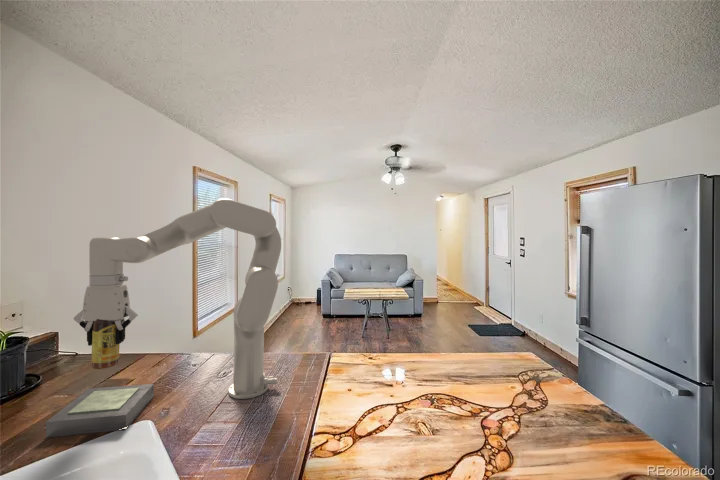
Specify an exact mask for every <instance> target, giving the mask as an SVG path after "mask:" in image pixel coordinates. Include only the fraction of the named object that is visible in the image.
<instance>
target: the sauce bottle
mask: <svg viewBox="0 0 720 480" xmlns="http://www.w3.org/2000/svg"><path fill="white" fill-rule="evenodd" d="M117 330H118V328H117V326H116V324H115V322H114V321H108V320H101V319H97V320H96V321H95V322H93V330H92V345H91V368H92V369H95V370H100V369H101V370H102V369H108V368H112V367H114V366H116V365H117V364H118V363H119V359H120V344H116V331H117Z"/></svg>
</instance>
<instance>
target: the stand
mask: <svg viewBox="0 0 720 480" xmlns="http://www.w3.org/2000/svg"><path fill="white" fill-rule="evenodd" d="M154 391H155V384H154V383H148V384H133V385H121V386H107V387H93V388H88V389H87V390H85V391H84V392H83V393H81V394H79V396H77V397H76V398H75V399H74V400H72V401H71V402H70V403H68V404H67V405H66V406H64V407H63V408H62V409H61V410H59V411H58V412H57V413H56V414H55V415H53V416H51V418H49V419H47V420H46V421H45V438H55V437H66V436H74V435H76V436H77V435H86V434H87V435H88V434H97V433H105V432H106V433H108V432H117V431H116V430H118V431H120V430H119V429H122V428H124V427H127V426H129V425H130V426H131V425H132V423H133V422H134V421H135V420H136V418H138V416H139V415H140V413H142V411H143V410H144V409H145V407H146V406H147V405H148V404H149V403H150V401H151V400H152V399H153V398H154V397H155V392H154ZM134 419H135V420H134ZM130 426H129V427H130Z"/></svg>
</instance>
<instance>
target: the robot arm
mask: <svg viewBox="0 0 720 480" xmlns="http://www.w3.org/2000/svg"><path fill="white" fill-rule="evenodd" d="M226 228H228V229H231V230H233V231H237V232H241V233H244V234H248V235H251V236H253V237H254V240H255V248H254V251H253V254H252V258H251V261H250V262H249V263H250V264H249V268H248V270H247V272H246V274H245V277H244V278H245V279H244V282H245V288H244V290H243V294H242V297H240V298H239V299H238V300H237V302H236V303H235V304H234V308H233V380H232V381H233V382H232V384H231V385H230V386H229V387H228V390H227V392H228V395H229V396H230V397H231V398H234V399H238V400H239V399H241V400H247V399H253V398H256V397H259V396H261V395H263V394H264V393H266V392H267V390H268V389H269V385H278V378H277V377H275V378H274V376H275V375H269V376H268V375H266V373H265V371H264V362H265V361H264V359H265V358H264V353H265V352H264V351H265V348H264V347H265V345H264V344H265V325H266V324H267V322H268V319H269V317H270V315H271V311H272V307H273V305H274V303H275V300H276V299H275V298H276V295H277V291H278V287H279V279H278V276H277V274H276V271H277V267H278V263H279V259H280V256H281V251H282V238H281V234H280V232H279V228H277V221H276V218H275V216H274V215H273V214H272V213H271V212H269V211H267V210H264V209H261V208H257V207H254V206H252V205H249V204H245V203H242V202H240V201H239V202H238V201H236V200H233V199H230V198H218V199H217V200H215V201H214V202H213V203H211V204H208V205H206V206H204V207H202V208H199V209H196V210H194V211H191V212H189V213H185V214H184V215H181V216H179V217H176V218H175V219H174V220H172V222H170V223H169V224H167V225H165V226H163V227H161V228H158V229H155V230H153V231H151V232H148V233H146V234H143V235H141V236H134V237H133V236H132V237H126V238H119V237H113V236H112V237H106V236H105V237H104V236H103V237H92V238H91V239H90V241H89V245H88V247H89V253H88V254H89V258H88V261H89V264H88V265H89V266H88V267H89V269H88V270H89V278H88V279H89V285H88V286H86V288H85V292H84V298H83V304H82V309H81V311H80V312H78V313H77V314H76V315H75V316H74V317H73V320H74V321H75V322H76V323H78V325H79V326H80V327H82V328H83V329H84V331H85V332H86V342H87V346H89V347H92V330H93V322H95V321H96V320H97V319H101V320H108V321H114V322H115V324H116V326H117V328H118V330H117V331H116V344H119V345H120V344H121V343H123V342H124V341H125V339H126V328H128V326H129V325H131V323H133V321H135V320H136V319H137V318H138V314H137V313H136V312H135V311H134V310H133V309H132V308H131V306H130V295H129V289H128V286H127V284H126V283H125V282H128V281H129V277H128V276H127V275H126V276H125V274H124V263H127V264H128V263H129V264H142V263H144V262H146V261H148V260H151V259H153V258H155V257H157V256H160V255H163V254H164V253H167V252H169V251H171V250H173V249H177V248H178V247H181V246H185V245H188V244H191V243H194V242H196V241H198V240H201V239H203V238H206V237H207V236H209V235H212V234H214V233H216V232H218V231H221V230H223V229H226ZM127 317H128V318H127ZM125 318H127V319H125Z"/></svg>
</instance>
